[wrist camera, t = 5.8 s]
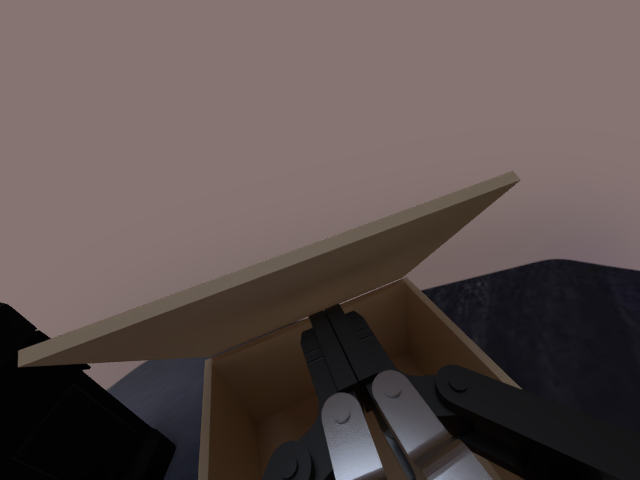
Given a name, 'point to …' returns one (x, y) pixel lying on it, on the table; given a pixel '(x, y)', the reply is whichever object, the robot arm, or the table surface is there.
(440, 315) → the kraft carton
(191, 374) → the table surface
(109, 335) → the carton flap
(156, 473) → the portable radio
